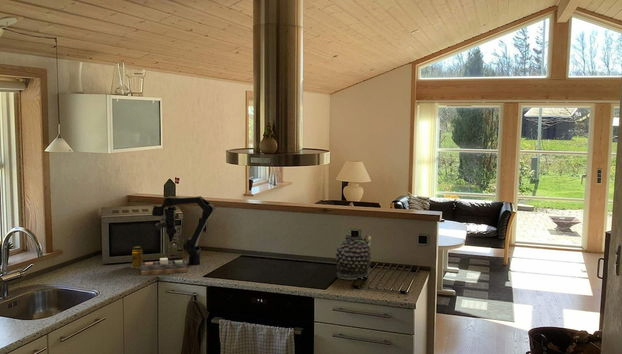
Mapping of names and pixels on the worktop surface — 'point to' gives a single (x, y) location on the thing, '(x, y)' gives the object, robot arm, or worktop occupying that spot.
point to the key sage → (178, 261)
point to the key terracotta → (148, 263)
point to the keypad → (164, 268)
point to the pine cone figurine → (353, 257)
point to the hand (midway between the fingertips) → (170, 242)
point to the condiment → (137, 257)
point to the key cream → (163, 261)
